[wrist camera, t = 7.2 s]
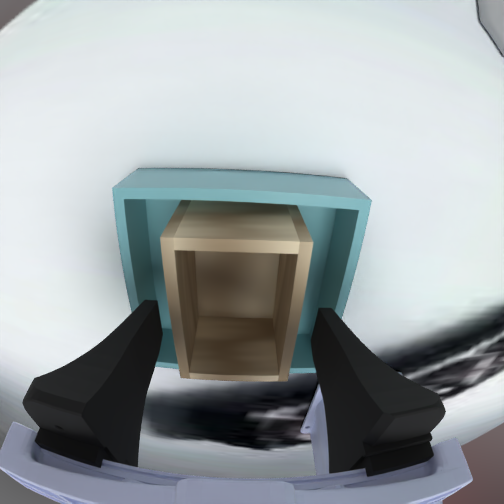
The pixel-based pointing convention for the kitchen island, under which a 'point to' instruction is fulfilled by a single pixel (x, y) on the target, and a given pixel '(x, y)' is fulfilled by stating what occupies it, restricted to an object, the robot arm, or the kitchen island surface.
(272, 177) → the teal crate
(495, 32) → the flask
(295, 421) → the kitchen island surface
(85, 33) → the kitchen island surface
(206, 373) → the birch crate
